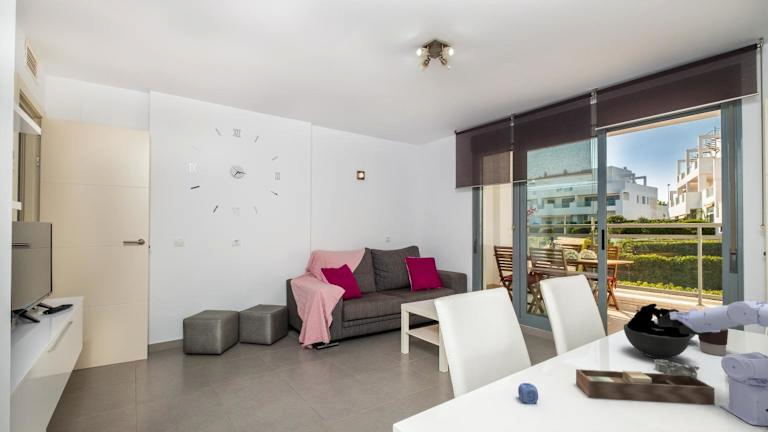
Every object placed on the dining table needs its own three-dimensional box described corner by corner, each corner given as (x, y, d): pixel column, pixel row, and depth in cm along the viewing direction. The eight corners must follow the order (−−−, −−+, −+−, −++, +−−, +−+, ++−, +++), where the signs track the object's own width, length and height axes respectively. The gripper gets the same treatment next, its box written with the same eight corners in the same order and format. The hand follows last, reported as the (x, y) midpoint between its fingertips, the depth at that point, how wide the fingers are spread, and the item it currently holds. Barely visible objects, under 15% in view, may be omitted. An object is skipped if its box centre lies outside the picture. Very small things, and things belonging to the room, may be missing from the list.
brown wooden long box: (690, 390, 106) (690, 375, 106) (714, 404, 97) (714, 388, 97) (576, 384, 108) (576, 369, 109) (589, 397, 100) (589, 381, 100)
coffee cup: (728, 359, 132) (727, 318, 132) (693, 351, 140) (693, 313, 140) (732, 353, 138) (731, 314, 139) (698, 346, 146) (698, 310, 146)
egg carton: (701, 380, 114) (701, 367, 114) (684, 382, 112) (684, 369, 112) (667, 367, 124) (667, 355, 124) (650, 369, 122) (650, 357, 122)
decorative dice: (532, 397, 100) (532, 382, 100) (538, 404, 96) (538, 389, 96) (518, 397, 100) (518, 382, 100) (523, 404, 96) (523, 389, 96)
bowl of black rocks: (678, 371, 119) (678, 315, 120) (614, 353, 136) (613, 304, 137) (699, 360, 130) (698, 308, 131) (637, 344, 147) (636, 299, 148)
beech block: (651, 387, 100) (651, 378, 100) (633, 386, 101) (632, 377, 101) (640, 380, 105) (640, 371, 105) (622, 379, 106) (622, 370, 106)
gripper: (732, 312, 103) (687, 320, 115) (687, 298, 102) (647, 307, 114) (738, 336, 99) (691, 342, 111) (692, 322, 98) (650, 329, 110)
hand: (669, 326), depth 112 cm, fingers open, 7 cm apart
